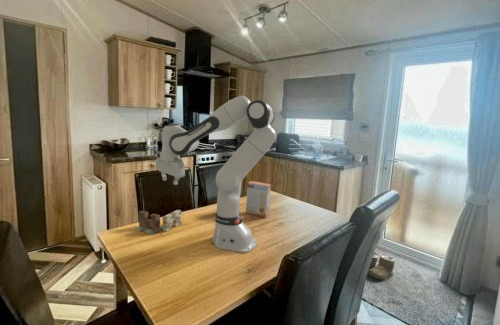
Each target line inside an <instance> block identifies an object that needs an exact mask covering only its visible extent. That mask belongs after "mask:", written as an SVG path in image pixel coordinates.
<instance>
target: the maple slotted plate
mask: <svg viewBox="0 0 500 325" xmlns="http://www.w3.org/2000/svg"><path fill="white" fill-rule="evenodd" d="M180 225H182V210H181V209H176V210H174V211H172V212H170V213H168V214H166V215H163V216H162V227H163V230H162V231H163V232H165V231H166V232H165V233H167V232H169V231H171V230H172V229H173V227H176V226H177V227H178V226H180Z"/></svg>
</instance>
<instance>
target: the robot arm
mask: <svg viewBox="0 0 500 325" xmlns="http://www.w3.org/2000/svg"><path fill="white" fill-rule="evenodd" d="M274 112H275V111H274V110H273V108H272V106H271V105H269V103H267V102H266V101H265V100H261V99H254V100H253V101H251V100H250V99H249V98H248V97H246V96H245V95H237V96H236V97H234V98H233V99H232V98H231V99H230V100H228V101H227V102H225V103H224V104H222V105H220V106H219V107H218V108H217V109H216V110H214V111H213V112H212V113H211V114H210V115H208V116H207V117H206V118H205V119H203V120H202V121H201V122H199V123H197V125H194V126H193V127H192V128H190V129H189V130H186V129H184V128H183V127H182V126H181V125H180V124H166V125H164V127H163V129H162V136H161V143H162V146H161V147H162V148H161V152H157V153H155V157H156V161H155V165H156V166H155V167H156V168H155V169H156V170H157V171H159V172H160V173H161V177H162V178H161V179H162V181H164V182H165V181H167V180H168V176H167V175H170V176H172V177H174V180H173V181H172V182H173V183H172V184H173V185H174V186H176V185H179V180H180V179H181V178H185V176H186V168H185V167H186V166H185V162H184V161H183V159H182V158H180V156H184V155H185V154H187V153H190V152H193V151H195V150H196V149H197V148H198V147H199V144H200V140H201V139H204V138H205V137H206V136H208V135H211V134H213V133H215V132H217V133H218V132H223V131H225V130H228V129H230V128H233V127H234V126H236V125H237V124H239V123H240V122H242V121H243V120H246V119H248V121H249V122H250V124H251V126H252V127H253V131H252V132H251V134H250V135H249V136H248V137H247V138H246V139H245V140H244V142H243V143H242V144H241V145H240V146H239V147H238V148H237V149H236V151H235V152H234V153H233V154H232V155H231V156H230V157H229V158H228V160H227V161H226V162H225V163H224V164H223V165H222V166H221V168H220V169H219V170H218V171H217V173H216V175H215V184H216V186H217V187H218V192H217V197H216V199H217V200H216V212H215V220H214V221H215V228H214V233H213V236H212V237H211V238H212V239H211V240H212V243H213V244H214V245H215V248H216V249H221V250H224V251H225V250H228V251H232V252H239V253H245V254H246V253H249V252H251V251H253V250H254V249H255V248H256V246H257V244H258V242H257V241H258V240H257V239H256V238H254V235H253V231H252V230H251V229H250V228H249V226H247V225H246V224H245V223H244V222H243V219H244V215H242V216H241V215H240V200H241V194H242V193H241V192H242V183H243V182H242V181H243V180H244V179H245V177H247V175H248V174H249V172H250V171H251V170H253V168H254V167H255V165H256V164H257V163H258V162H259V161H260V160H261V159H262V158H263V157H264V156H265V154H266V153H268V151H269V150H270V148H271V147H272V146H273V144H274V143H275V142H276V139H277V132H276V131H275V129H274V128H273V127H272V126H271V125H272V124H273V123H274V121H275V113H274Z"/></svg>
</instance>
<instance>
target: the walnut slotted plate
mask: <svg viewBox="0 0 500 325" xmlns="http://www.w3.org/2000/svg"><path fill="white" fill-rule="evenodd" d="M149 216H150V219H149ZM162 229H163V226H161V215H160V214H158V213H152V214H150V215H149V211H146V210H140V211H138V226H136V227H135V228H134V230H136V231H138V232H142V231H143V233H145V232H146V233H145V234H149V233H150V234H149V235H152V234H153V235H155V234H157V233H159V232H161V231H163V230H162ZM160 230H161V231H160ZM158 231H159V232H158ZM156 232H157V233H156ZM154 233H155V234H154Z"/></svg>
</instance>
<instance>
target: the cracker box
mask: <svg viewBox="0 0 500 325" xmlns="http://www.w3.org/2000/svg"><path fill="white" fill-rule="evenodd" d="M246 188H247V190H246V205H245V209H246V210H245V214H247V215H251V216H255V217H260V218H264V219H266V218H267V217H269V215H270V206H271V205H270V204H271V193H272V192H271V191H272V184H270V183H264V182H261V181H254V180H251V181H248V182H247V187H246Z"/></svg>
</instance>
